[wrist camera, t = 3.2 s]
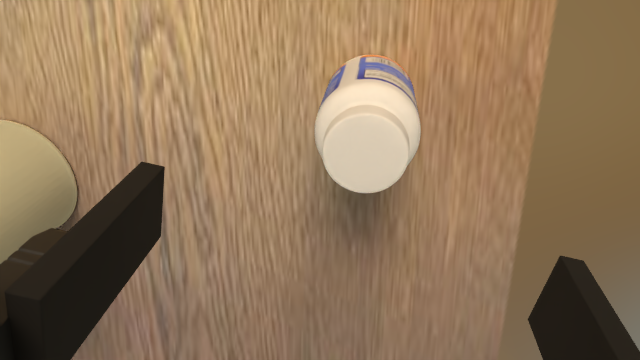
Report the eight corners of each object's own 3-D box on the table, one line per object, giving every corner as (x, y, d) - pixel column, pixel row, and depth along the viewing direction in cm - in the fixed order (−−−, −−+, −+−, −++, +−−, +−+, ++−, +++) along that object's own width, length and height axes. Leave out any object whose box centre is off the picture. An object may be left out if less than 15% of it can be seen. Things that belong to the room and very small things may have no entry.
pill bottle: (348, 147, 33) (335, 224, 24) (312, 74, 31) (284, 128, 22) (427, 116, 31) (442, 186, 23) (394, 36, 30) (397, 79, 21)
